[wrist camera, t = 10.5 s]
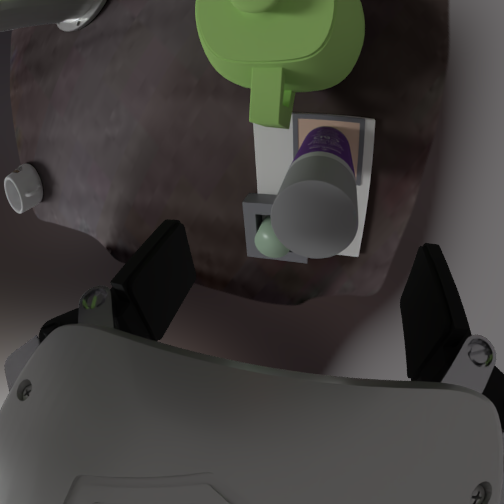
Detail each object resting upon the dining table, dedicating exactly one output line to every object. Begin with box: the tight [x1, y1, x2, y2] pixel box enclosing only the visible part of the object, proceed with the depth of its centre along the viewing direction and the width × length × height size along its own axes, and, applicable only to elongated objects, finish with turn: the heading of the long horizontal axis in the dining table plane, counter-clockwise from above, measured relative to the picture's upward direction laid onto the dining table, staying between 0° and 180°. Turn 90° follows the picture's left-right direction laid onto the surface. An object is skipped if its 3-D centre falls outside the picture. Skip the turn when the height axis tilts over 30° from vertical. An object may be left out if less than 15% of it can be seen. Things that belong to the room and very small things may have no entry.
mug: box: [4, 163, 43, 214], centre depth 40 cm, size 12×10×6 cm
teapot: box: [195, 0, 365, 129], centre depth 14 cm, size 20×13×13 cm
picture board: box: [243, 112, 375, 263], centre depth 27 cm, size 16×13×3 cm
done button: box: [255, 215, 289, 258], centre depth 29 cm, size 4×4×3 cm
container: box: [271, 126, 359, 258], centre depth 19 cm, size 5×5×15 cm
